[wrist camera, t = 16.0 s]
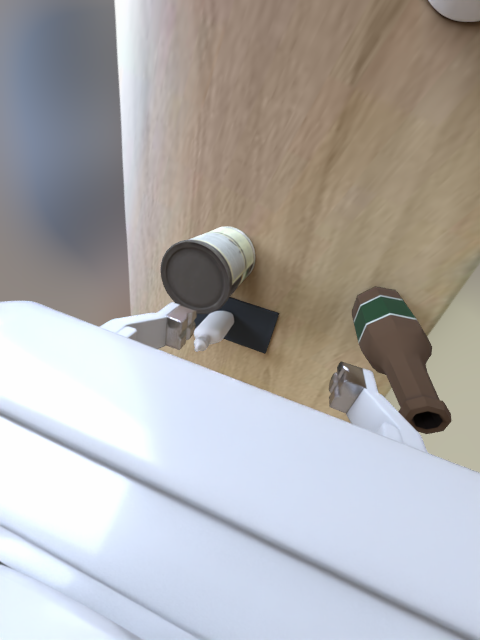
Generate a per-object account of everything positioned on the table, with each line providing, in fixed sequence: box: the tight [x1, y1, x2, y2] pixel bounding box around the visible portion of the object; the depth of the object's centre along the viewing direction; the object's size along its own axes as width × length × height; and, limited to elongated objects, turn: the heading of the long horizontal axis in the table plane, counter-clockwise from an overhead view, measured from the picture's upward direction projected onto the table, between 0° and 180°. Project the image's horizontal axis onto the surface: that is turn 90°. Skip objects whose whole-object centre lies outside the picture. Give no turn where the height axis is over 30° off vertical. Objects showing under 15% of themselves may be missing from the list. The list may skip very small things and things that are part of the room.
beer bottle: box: [352, 286, 451, 434], centre depth 31 cm, size 8×8×24 cm
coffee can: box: [161, 227, 255, 314], centre depth 38 cm, size 10×10×14 cm
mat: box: [194, 297, 279, 353], centre depth 51 cm, size 10×22×1 cm, turn 77°
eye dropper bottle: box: [194, 311, 234, 352], centre depth 45 cm, size 4×6×12 cm
